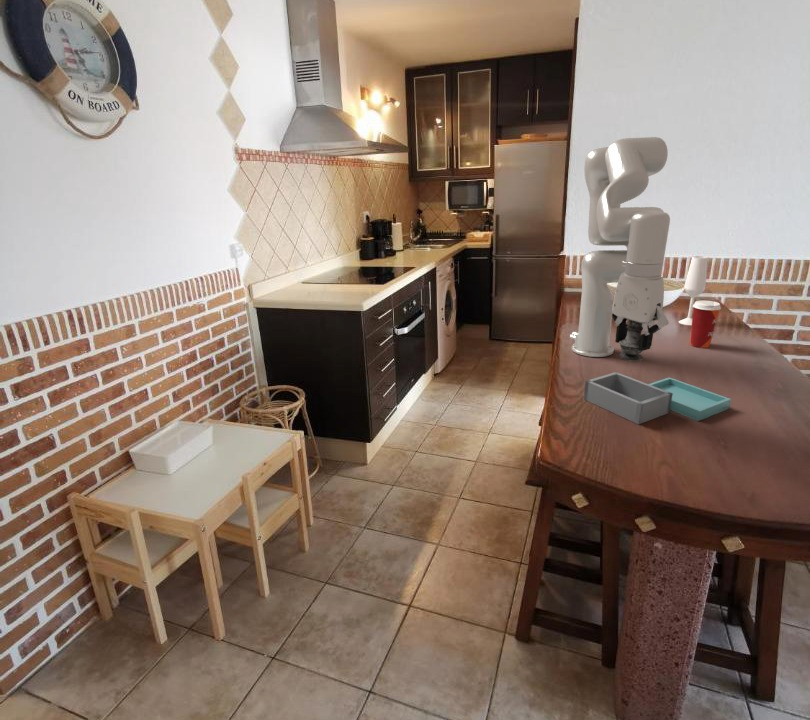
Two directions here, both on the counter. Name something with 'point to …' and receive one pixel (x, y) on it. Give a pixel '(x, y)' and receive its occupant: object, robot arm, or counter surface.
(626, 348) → the grey stone turned piece
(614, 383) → the deep rectangular frame
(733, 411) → the counter surface
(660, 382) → the tray
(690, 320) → the champagne flute
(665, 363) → the counter surface
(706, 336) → the paper cup
